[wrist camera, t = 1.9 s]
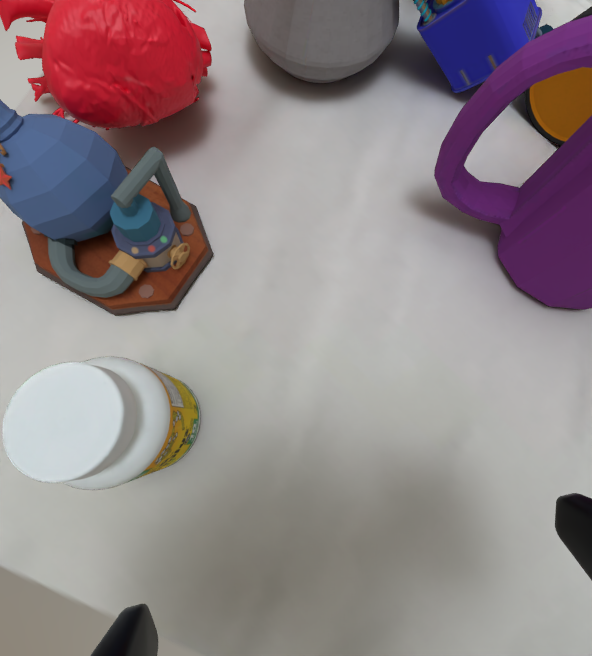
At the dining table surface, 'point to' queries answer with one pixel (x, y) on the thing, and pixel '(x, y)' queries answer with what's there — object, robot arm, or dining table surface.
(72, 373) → the supplement bottle
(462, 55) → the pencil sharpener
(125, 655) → the robot arm
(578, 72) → the mug
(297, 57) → the coffee pot
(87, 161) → the model
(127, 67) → the heart organ
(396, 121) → the dining table surface
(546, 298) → the mug
